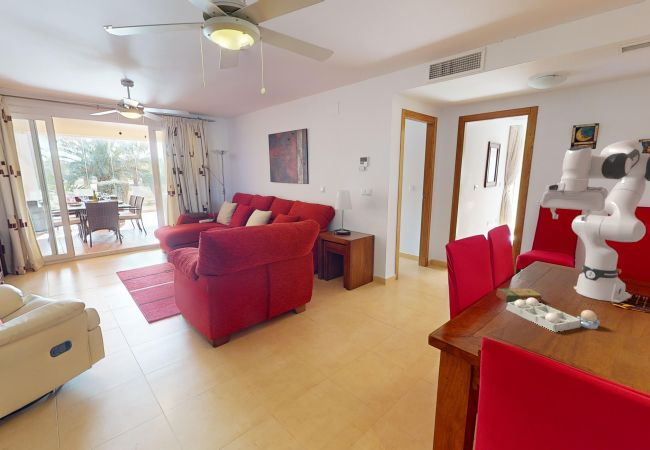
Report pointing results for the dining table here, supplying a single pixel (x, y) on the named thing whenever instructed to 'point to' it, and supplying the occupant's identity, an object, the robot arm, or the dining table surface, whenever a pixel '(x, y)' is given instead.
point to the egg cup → (589, 323)
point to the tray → (539, 315)
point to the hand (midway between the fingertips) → (569, 219)
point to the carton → (517, 294)
